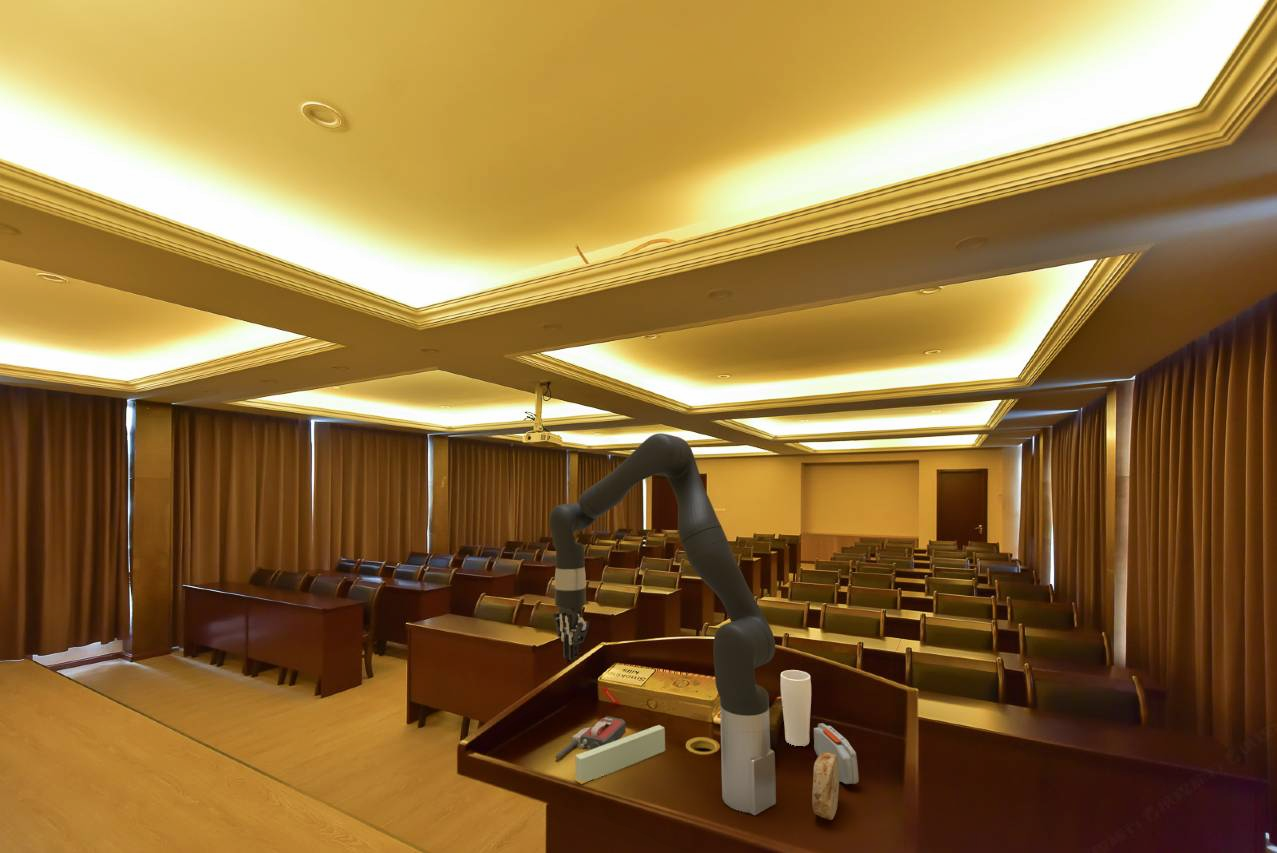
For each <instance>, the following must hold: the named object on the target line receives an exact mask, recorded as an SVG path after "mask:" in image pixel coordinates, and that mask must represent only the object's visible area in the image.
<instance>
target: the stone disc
mask: <svg viewBox="0 0 1277 853" xmlns="http://www.w3.org/2000/svg"><path fill="white" fill-rule="evenodd" d="M812 776H813V777H812V779H813V780H812V781H813V782H812V795H811V797H812V798H811V799H812V800H811V801H812V805H811V806H812V810H813V813H814V814H815V815H817V816H818V817H820V818H822V819H826V820H829V821H831V820H833V819H834V817H835V815H836V813H837V810H838V804H839V803H838V801H839V788H840V782H839V776H838V759H837V756H836V755H835V754H832V753H826V752H825V753H821V754H820V756H819V757H818V756H817V758H816V760H815V761H814V765H813V775H812Z"/></svg>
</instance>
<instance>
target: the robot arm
mask: <svg viewBox="0 0 1277 853" xmlns="http://www.w3.org/2000/svg"><path fill="white" fill-rule="evenodd" d="M656 475H657V476H662V477H663V476H664V477H666V479H667V480H668V483H669V485H670V486H671V489H672V491H673V493H674V496H675V499H676V503H677V532H678V537H679V541H680V543H681V546H682V549H683V551H684V554H685V555H686V558H687V561H688V563H689V565H690V567H691V568H692V570H693V571H694V572H695V573H696V575H697V576H698V577H699V578H700V579H701V580H702V581H703V582H704V583H705V584H706V585H707V586H708V587H709V588H710V589H711V590H712V591H713V592H714V593H715V594H716V596H717V597H718V598H719V600H720V601H721V603H722V605H723V606H724V608H725V611H726V612H727V616H728V618H729V622H727V623H725V624H722V625H720V626H719V627H718V628H717V629H716V632H715V635H714V638H713V646H712V647H713V649H712V650H713V663H714V664H713V666H714V667H713V668H714V680H715V681H714V682H715V686H716V690H717V693H718V695H719V702H720V704H719V705H720V709H719V710H720V712H719V713H720V749H721V750H720V751H721V754H720V755H721V761H720V762H721V791H722V793H721V795H722V797H721V798H722V801H723V803H724V804H726V805H727V806H728V807H730V808H731V809H733V810H736V811H738V810H739V811H738V812H741V811H742V812H741V813H748V814H751V815H753V816H756V815H758V814H760V813H761V812H763V811H765V810H767V809H768V808H771V807H773V806H774V805H776V804H777V793H776V792H777V790H776V757H775V756H776V755H775V751H774V750H773V749H771V737H770V736H771V735H770V732H771V731H770V730H771V729H770V728H771V727H770V698H769V693H768V691H767V690H766V689H765V688H764V687H763V686H761V685H759V684H757V683H756V674H755V673H756V672H755V669H756V668H758V667H760V666H763V665H765V664H768V663H769V662H770V661H771V660H772V659H773V658H774V655H775V652H776V642H775V637H774V636H775V635H774V633H773V630H772V629H771V626H770V624H769V622H768V621H767V618H766V617H765V615H764V613H763V611H762V610H761V608H760V606H759V604H758V603H757V601H756V599H755V596H754V595H753V594H752V593H753V592H751V589H750V588H749V586H748V584H747V582H746V580H745V578H744V574H743V573H742V571H741V569H740V566H739V564H738V562H737V559H736V558H735V555H734V553H733V551H732V548H731V545H730V543H729V540H728V538H727V536H726V534H725V530H724V529H723V526H722V524H721V523H720V520H719V518H718V516H717V514H716V512H715V509H714V507H713V504H712V502H711V500H710V497H709V495H708V493H707V490H706V489H705V486H704V483H703V480H702V477H701V474H700V470H699V468H698V465H697V462H696V459H695V456H694V452H693V450H692V448H691V446H690V444H689V443H688V442H687V441H686V440H685V439H683V438H681V437H680V436H676V435H675V436H674V435H672V434H668V433H661V432H660V433H655V434H654V433H653V434H652V435H650V436H649V437H647V439H645V440H644V441H643V442H642V443H640V444H639V445H638V447H637V448H636V449H635V450H634V451H633V452H632V453H631V454H630V455H629V456H628V457H627V458H625V459H624V460H623V461H622V462H621V463H620V464H619V465H618V466H617V467H616V468H614V469H613V470H612V471H611V472H610V473H608V474H607V475H605V477H603V478H602V479H600V480H599V481H597V482H596V483H595V484H593V485H592V486H590V487H589V488H587V489H585V490H584V491H583V492H582V493H581V494H580V496H579V498H578V501H576V502H575V503H574V502H573V503H565V504H563V503H562V504H559V505H556V506H554V507H553V509H552V510H551V512H550V516H549V520H548V521H549V522H548V526H549V529H550V533H551V538H552V542H553V543H552V544H553V545H554V548H555V571H554V572H555V574H554V605H555V607H556V608H558V611H557V612H554V613H553V615H552V616H553V621H554V625H555V629H556V634H557V636H558V638H560V640H561V642H562V646H563V648H562V656H563V658H566V659H567V658H568V660H570V661H571V662H573V661H575V660H576V661H577V660H579V645H580V644H581V643H584V642H585V639H586V636H587V633H588V630H589V625H590V622H589V621H588V620H586V621H585V620H584V618H583V616H584V615H583V611H582V608H583V607H584V606H585V605H586V603H587V597H586V596H587V587H586V586H587V583H586V578H587V577H586V569H585V562H586V561H585V557H586V556H585V547H584V545H583V543H582V542H578V541H576V539H575V536H574V533H576V532H581V531H584V530H585V529H587V528H588V527H590V526H591V525H593V524H594V522H595V521H596V520H598V518H599V517H600V516H602V515H604V514H605V513H606V512H608V511H610V510H612V509H613V508H614V507H616V506H617V505H619V504H620V503H621V502H622V501H623V500H624V499H625V497H627V494H628V493H629V492H630V490H631V489H632V488H634V486H636V484H639V483H640V482H641V481H644V480H645V479H648V478H650V477H653V476H656Z"/></svg>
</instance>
